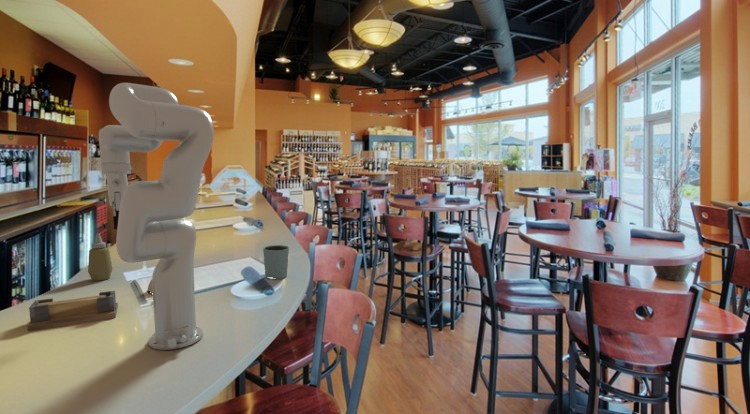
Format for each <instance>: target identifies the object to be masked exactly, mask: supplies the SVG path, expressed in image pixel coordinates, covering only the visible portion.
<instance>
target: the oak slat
mask: <svg viewBox="0 0 750 414" xmlns="http://www.w3.org/2000/svg"><path fill="white" fill-rule="evenodd" d="M100 297H106V295H100V296H99V295H93V296H85V297H79V298H71V299H65V300H64V299H61V300H56V301H54V300H53V302H46V303H38V305H46V304H49V316H50V319H51V318H58V317H65V316H72V315H79V314H85V313H92V312H98V304H97V298H100ZM38 305H37V306H38Z"/></svg>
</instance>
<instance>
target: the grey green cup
mask: <svg viewBox="0 0 750 414" xmlns="http://www.w3.org/2000/svg"><path fill="white" fill-rule="evenodd" d="M262 250H263V251H262V252H263V264H264V277H265V276H266V277H273V278H277V279H276V280H282V279H286V278H287V277H288V267H289V266H288V265H289V252H290V251H289V250H290V247H289V246H286V245H283V244H281V245H280V244H275V245H267V246H264V247H263V249H262ZM266 277H265V278H266Z"/></svg>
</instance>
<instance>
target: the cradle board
mask: <svg viewBox="0 0 750 414" xmlns="http://www.w3.org/2000/svg"><path fill="white" fill-rule="evenodd" d="M98 294H99V295H98V296H100V295H106V297H100V298H97V304H98V312H92V313H85V314H79V315H72V316H65V317H58V318H51V319H50V316H49V304H46V305H38V303H46V302H54V300H53V299H54V298H53V297H52V298H45V299H44V298H43V299H36V300H34V301H33V302H32V303H31V304H30V306H29V307H28V309H29V320H30V322H29V323H28V324H27V331H28V332H32V331H38V330H44V329H45V330H46V329H49V328H50V329H51V328H57V327H63V326H64V327H65V326H69V325H70V326H71V325H78V324H83V323H90V322H96V321H97V322H98V321H103V320H109V319H115V318H116V316H117V312H118V309H119V307H118V304H119V303H118V302H117V300H116V299H117V298H116V297H117V296H116V290H109V291H100V292H99V293H98ZM37 305H38V306H37Z"/></svg>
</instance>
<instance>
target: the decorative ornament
mask: <svg viewBox="0 0 750 414" xmlns="http://www.w3.org/2000/svg"><path fill="white" fill-rule="evenodd" d="M147 290H148V291H150V292H151V293H153V286H152V279H150V281H149V284H148V286H147ZM148 291H147V292H148ZM150 292H149V293H150ZM151 293H150V294H151Z"/></svg>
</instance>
